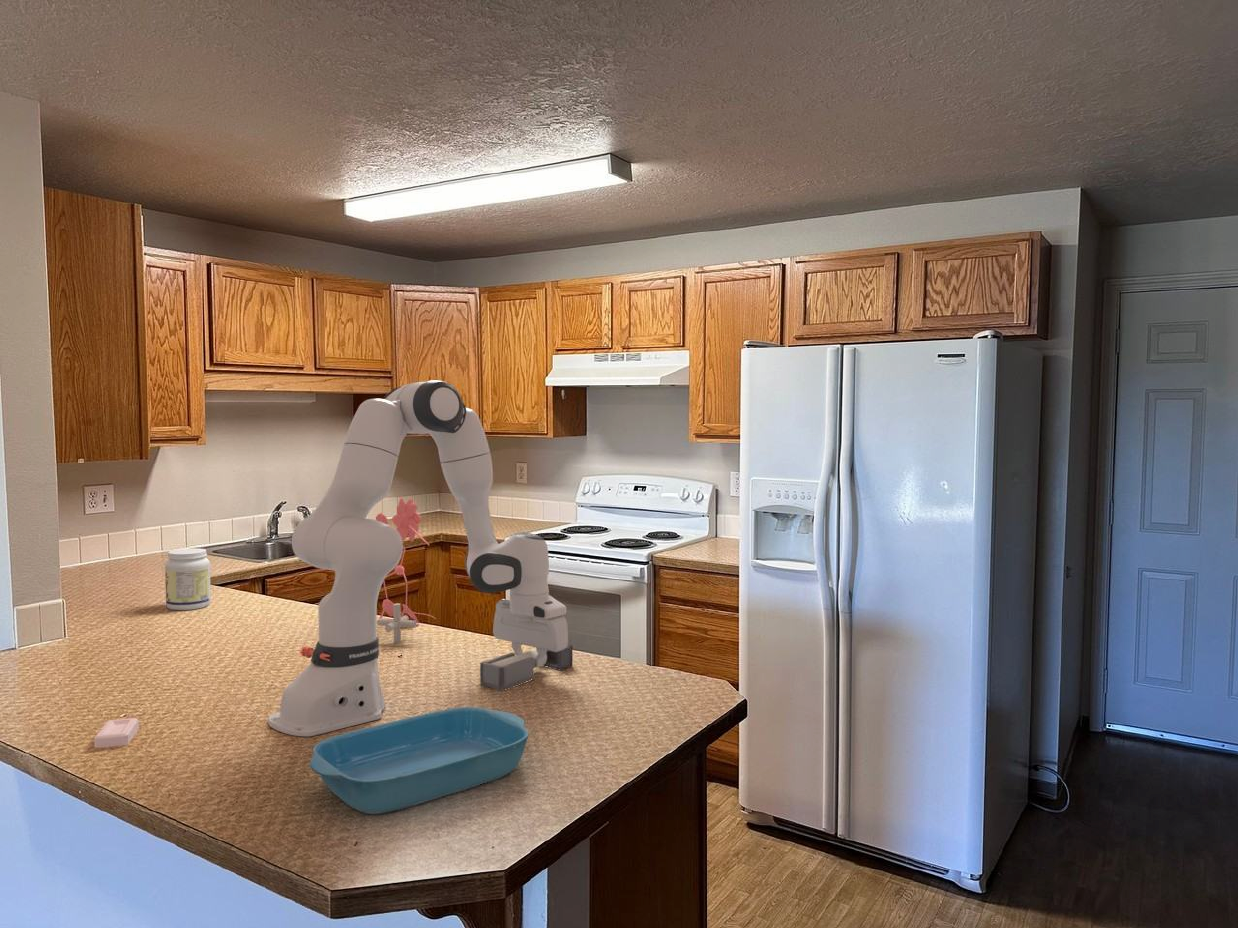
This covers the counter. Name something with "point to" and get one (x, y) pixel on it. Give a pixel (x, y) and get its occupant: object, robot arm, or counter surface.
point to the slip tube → (519, 658)
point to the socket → (560, 658)
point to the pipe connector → (397, 623)
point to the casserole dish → (419, 757)
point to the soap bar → (116, 733)
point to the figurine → (406, 527)
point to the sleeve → (506, 673)
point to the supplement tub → (187, 579)
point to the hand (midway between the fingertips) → (529, 663)
